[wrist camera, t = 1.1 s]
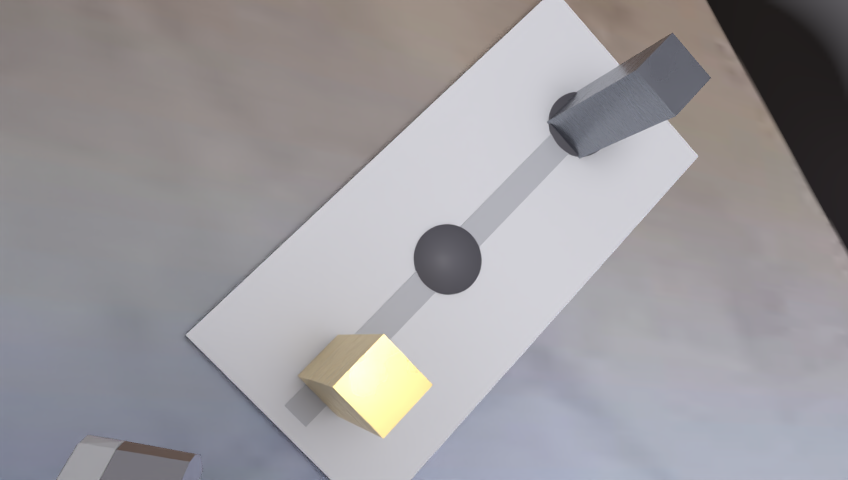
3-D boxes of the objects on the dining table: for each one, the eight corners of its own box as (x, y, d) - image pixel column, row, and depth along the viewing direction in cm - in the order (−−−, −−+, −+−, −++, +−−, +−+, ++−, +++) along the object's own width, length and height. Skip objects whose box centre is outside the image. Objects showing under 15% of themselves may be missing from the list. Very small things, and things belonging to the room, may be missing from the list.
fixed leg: (579, 158, 49) (675, 116, 40) (546, 122, 49) (636, 69, 39) (609, 127, 50) (710, 77, 40) (577, 91, 50) (672, 32, 40)
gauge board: (367, 516, 44) (374, 523, 43) (185, 335, 43) (185, 334, 41) (684, 161, 53) (700, 155, 51) (543, -2, 51) (555, -12, 50)
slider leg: (337, 415, 42) (383, 438, 33) (297, 375, 42) (332, 386, 33) (376, 374, 43) (432, 384, 34) (338, 334, 43) (383, 333, 33)
